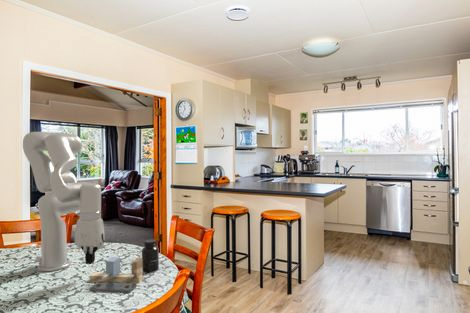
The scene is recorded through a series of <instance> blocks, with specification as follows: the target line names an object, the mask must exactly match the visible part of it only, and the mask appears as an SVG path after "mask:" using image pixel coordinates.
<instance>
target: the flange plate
mask: <svg viewBox="0 0 470 313" xmlns="http://www.w3.org/2000/svg"><path fill="white" fill-rule="evenodd" d="M136 288H137V283H123V282H96V283H94V285H92V286H91V287H90V288H89V292H101V293H102V292H104V293H105V292H106V293H124V294H125V293H127V294H128V293H129V294H130V293H131V292H133V291H135V289H136Z"/></svg>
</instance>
